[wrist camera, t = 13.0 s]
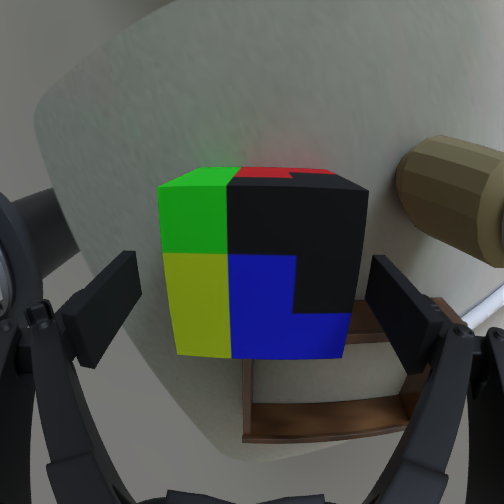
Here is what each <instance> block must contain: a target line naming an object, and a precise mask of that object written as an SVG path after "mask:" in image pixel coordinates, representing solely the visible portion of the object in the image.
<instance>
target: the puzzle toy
mask: <svg viewBox="0 0 504 504" xmlns="http://www.w3.org/2000/svg"><path fill="white" fill-rule="evenodd" d="M157 193H158V208H159V221H160V232H161V243H162V252H163V261H164V270H165V278H166V286H167V293H168V300H169V307H170V314H171V320H172V326H173V332H174V338H175V344H176V349H177V355H188V356H201V357H216V358H235V359H270V360H298V359H333V358H342V355H343V351H344V346H345V342H346V338H347V333H348V328H349V324H350V319H351V314H352V309H353V304H354V298H355V293H356V287H357V281H358V275H359V269H360V263H361V256H362V249H363V242H364V234H365V226H366V217H367V207H368V197H369V191H368V190H367V189H365V188H363V187H361V186H359V185H357V184H355V183H353V182H351V181H349V180H347V179H345V178H343V177H341V176H339V175H337V174H334V173H332V172H330V171H328V170H323V169H304V168H276V167H203V168H198V169H196V170H193V171H191V172H189V173H187V174H184V175H182V176H180V177H178V178H176V179H173V180H171V181H169V182H167V183H165V184H163V185H160V186H158V187H157Z"/></svg>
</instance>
